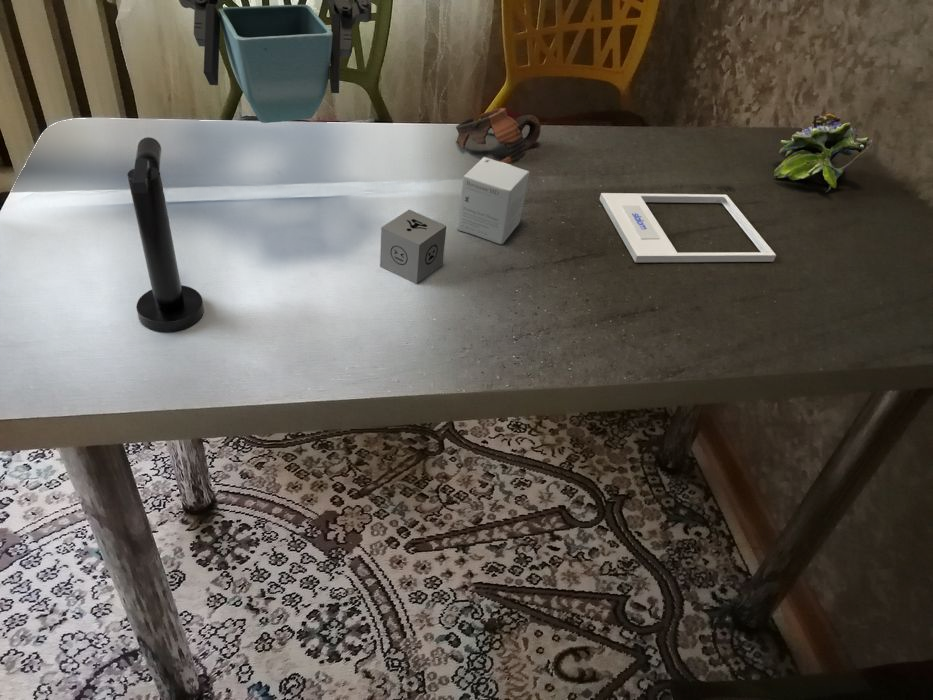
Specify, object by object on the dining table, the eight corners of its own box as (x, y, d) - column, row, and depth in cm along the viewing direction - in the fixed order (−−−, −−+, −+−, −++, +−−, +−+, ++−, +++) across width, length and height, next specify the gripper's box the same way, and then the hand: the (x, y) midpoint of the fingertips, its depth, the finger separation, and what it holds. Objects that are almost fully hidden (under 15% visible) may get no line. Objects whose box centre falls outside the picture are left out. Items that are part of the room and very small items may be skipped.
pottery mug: (486, 187, 99) (465, 127, 96) (459, 185, 107) (439, 129, 104) (561, 154, 102) (543, 94, 99) (529, 153, 110) (512, 98, 107)
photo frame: (601, 191, 98) (727, 193, 101) (599, 199, 99) (724, 200, 102) (637, 254, 87) (776, 253, 90) (635, 262, 88) (773, 261, 91)
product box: (455, 230, 89) (461, 175, 85) (476, 208, 94) (483, 155, 89) (502, 246, 88) (511, 190, 83) (521, 223, 92) (530, 169, 87)
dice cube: (442, 263, 84) (446, 225, 81) (416, 283, 80) (419, 244, 77) (407, 247, 86) (409, 209, 82) (380, 266, 82) (381, 227, 79)
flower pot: (226, 97, 76) (216, 5, 70) (311, 91, 79) (308, 2, 73) (245, 135, 70) (235, 38, 64) (335, 127, 74) (334, 34, 68)
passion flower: (790, 200, 116) (848, 136, 113) (835, 225, 107) (899, 157, 104) (748, 159, 111) (807, 91, 107) (791, 182, 102) (857, 109, 98)
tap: (143, 271, 77) (110, 124, 67) (204, 268, 79) (181, 123, 68) (136, 338, 70) (97, 183, 59) (203, 332, 71) (178, 181, 61)
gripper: (399, -103, 77) (395, 106, 75) (164, -127, 74) (155, 91, 72) (402, -156, 69) (398, 74, 68) (142, -185, 66) (131, 56, 65)
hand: (273, 83), depth 70 cm, fingers closed on flower pot, 11 cm apart
